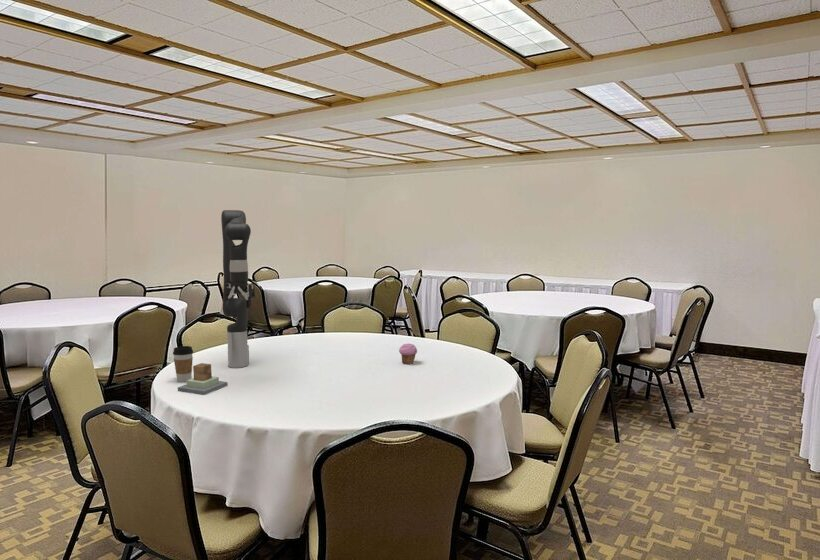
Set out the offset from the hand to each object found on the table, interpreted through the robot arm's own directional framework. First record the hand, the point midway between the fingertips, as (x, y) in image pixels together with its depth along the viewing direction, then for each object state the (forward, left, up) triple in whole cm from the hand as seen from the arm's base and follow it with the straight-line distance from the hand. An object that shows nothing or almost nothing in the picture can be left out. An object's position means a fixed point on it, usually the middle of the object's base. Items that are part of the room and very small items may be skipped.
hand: (240, 307), depth 239 cm
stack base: (+13, -10, -33) cm, 37 cm away
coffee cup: (+7, -26, -33) cm, 43 cm away
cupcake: (-58, +55, -33) cm, 87 cm away
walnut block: (+13, -10, -29) cm, 33 cm away
